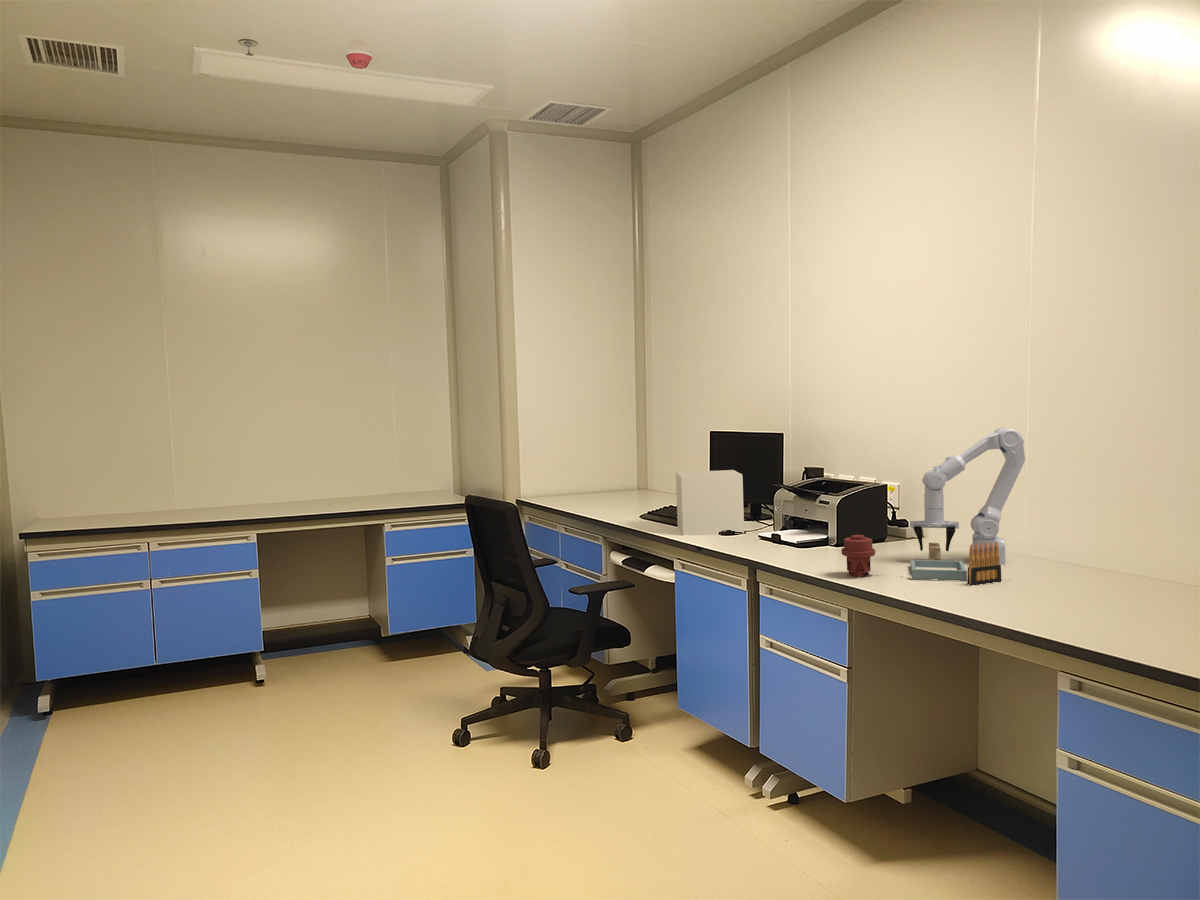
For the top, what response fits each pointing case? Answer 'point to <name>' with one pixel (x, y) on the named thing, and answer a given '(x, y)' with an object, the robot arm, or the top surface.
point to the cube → (709, 502)
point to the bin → (938, 574)
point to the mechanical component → (858, 554)
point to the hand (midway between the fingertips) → (934, 550)
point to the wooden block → (934, 551)
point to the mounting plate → (941, 559)
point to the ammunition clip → (984, 564)
